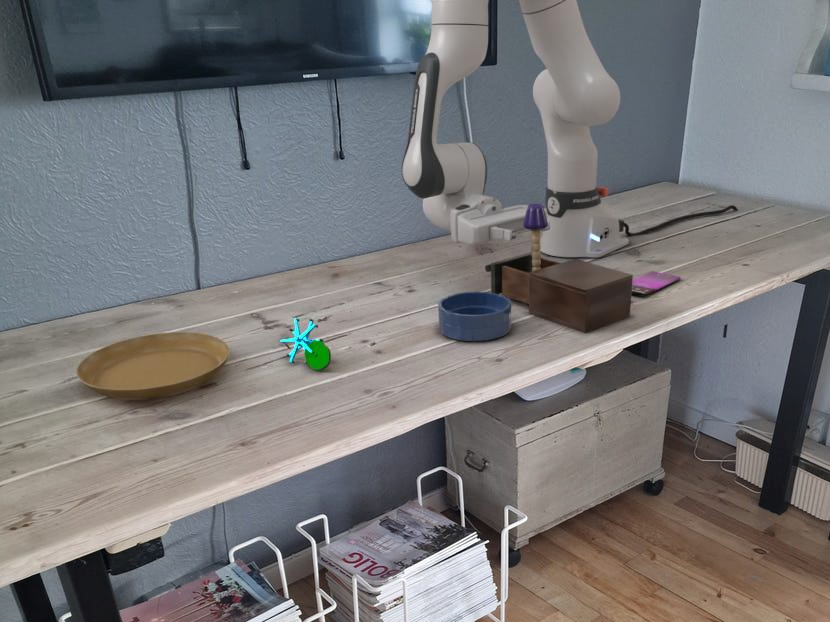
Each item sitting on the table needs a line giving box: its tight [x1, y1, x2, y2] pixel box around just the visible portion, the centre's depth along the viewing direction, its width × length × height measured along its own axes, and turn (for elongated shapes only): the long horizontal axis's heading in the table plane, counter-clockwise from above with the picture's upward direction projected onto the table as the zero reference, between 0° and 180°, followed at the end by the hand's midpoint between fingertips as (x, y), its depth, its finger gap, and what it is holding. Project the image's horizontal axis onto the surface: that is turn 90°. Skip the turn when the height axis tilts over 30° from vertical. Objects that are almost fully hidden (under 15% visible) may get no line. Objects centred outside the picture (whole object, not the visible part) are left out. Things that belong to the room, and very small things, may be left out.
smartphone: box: [631, 270, 681, 297], centre depth 182 cm, size 7×15×1 cm, turn 140°
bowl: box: [437, 291, 512, 342], centre depth 161 cm, size 13×13×5 cm
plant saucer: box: [75, 331, 230, 401], centre depth 145 cm, size 24×24×3 cm
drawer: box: [484, 251, 561, 305], centre depth 175 cm, size 18×11×6 cm, turn 41°
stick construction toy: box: [279, 317, 332, 371], centre depth 150 cm, size 12×7×8 cm
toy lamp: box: [524, 203, 548, 271], centre depth 170 cm, size 5×5×17 cm
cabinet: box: [528, 258, 634, 334], centre depth 166 cm, size 15×13×8 cm
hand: (530, 230), depth 170 cm, fingers open, 8 cm apart
